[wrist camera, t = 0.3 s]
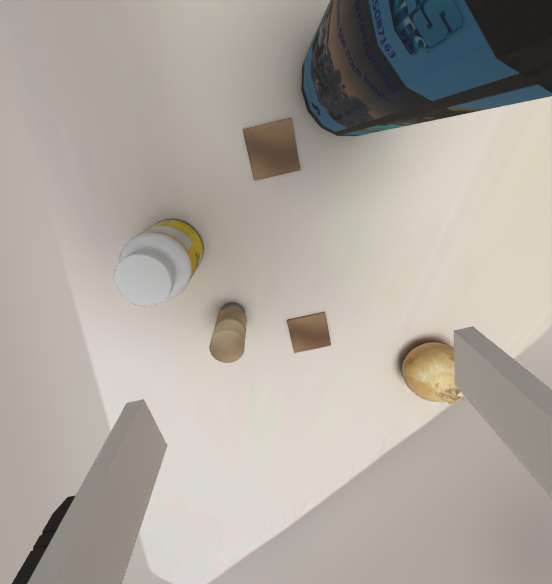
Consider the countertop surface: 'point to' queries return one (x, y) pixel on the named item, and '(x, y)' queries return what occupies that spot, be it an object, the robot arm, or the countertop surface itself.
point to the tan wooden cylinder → (229, 334)
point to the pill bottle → (158, 262)
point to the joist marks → (270, 162)
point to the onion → (431, 372)
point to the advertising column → (424, 61)
